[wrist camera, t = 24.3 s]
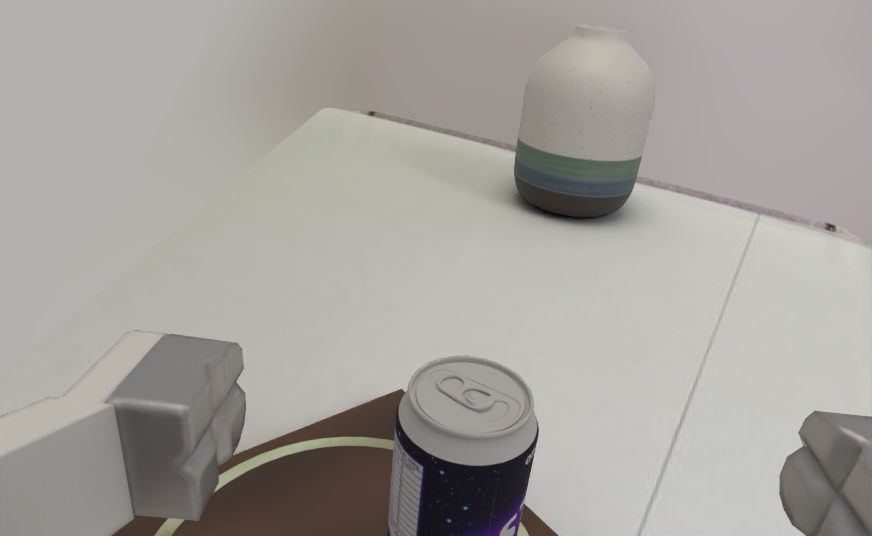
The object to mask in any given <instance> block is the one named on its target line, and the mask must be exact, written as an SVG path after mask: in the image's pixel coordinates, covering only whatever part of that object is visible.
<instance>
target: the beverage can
mask: <svg viewBox="0 0 872 536" xmlns="http://www.w3.org/2000/svg"><path fill="white" fill-rule="evenodd" d="M533 406H534V401H533V395H532V393H531V390H530V388H529V387H528V385H527V384H526V383H525V381H524V380H523V379H522V378H521V377H520V376H518V375H517V374H516V373H515V372H513V371H512V370H510V369H509V368H507V367H505V366H503V365H501V364H498V363H496V362H493V361H490V360H487V359H483V358H478V357H470V356H452V357H445V358H440V359H437V360H434V361H431V362H429V363H427V364H425V365H424V366H422V367H421V368H419V369H418V370H417V371H416V372H415V373H414V375H413V376H412V378H411V380H410V382H409V385H408V390H407V391H406V393H405V394H404V395H403V397H402V398H401V400H400V402H399V404H398V407H397V411H396V423H395V436H394V450H393V463H392V477H391V490H390V504H389V517H388V531H387V536H517V534H518V529H519V524H520V519H521V515H522V510H523V505H524V500H525V496H526V491H527V486H528V481H529V477H530V472H531V467H532V462H533V458H534V453H535V448H536V443H537V439H538V432H539V429H538V422H537V419H536V416H535V413H534V411H533Z"/></svg>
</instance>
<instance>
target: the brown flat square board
mask: <svg viewBox="0 0 872 536" xmlns="http://www.w3.org/2000/svg"><path fill="white" fill-rule="evenodd" d="M405 393H406V392H404V391H403V390H402V389H400V390H397V391H395V392H392V393H390V394H387V395H385V396H382V397H380V398H377V399H375V400H372V401H370V402H367V403H364V404H362V405H359V406H357V407H354V408H352V409H349V410H347V411H344V412H342V413H339V414H337V415H334V416H332V417H329V418H327V419H324V420H321V421H319V422H316V423H314V424H311V425H309V426H306V427H304V428H301V429H299V430H296V431H294V432H291V433H289V434H286V435H283V436H281V437H278V438H276V439H273V440H271V441H268V442H266V443H263V444H261V445H258V446H256V447H253V448H251V449H248V450H245V451H243V452H240V453H238V454H235V455H233V456H232V458H231V459H229V460H227V461H226V462H224V463H223V464H221V465H219V466H218V475H219V483H218V485H217V487H216V489H215V491H214V493H213V495H212V497H211V499H210V501H209V502H208V504H207V506H206V508H205V510H204V512H203V514H202V516H201V518H200V520H199V521H194V520H183V519H173V518H162V517H151V516H140V515H134V519H133V520H132V521H130V522H129V523H128V524H126V525H125V526H123V527H122V528H121V529H119V530H118V531H117V532H115V533H114V534H113V535H111V536H387V531H388V517H389V504H390V490H391V477H392V463H393V450H394V436H395V423H396V411H397V407H398V404H399V402H400V400H401V398H402V397H403V395H404V394H405ZM517 536H558V535H557V534H556V533H555V532H554V531H553V530H552V529H551V528H550V527H549V526H547V525H546V524H545V523H544V522H543V521H542V520H541V519H540V518H539V517H538V516H537V515H536V514H535V513H534V512H533V511H531V510H530V509H529V508H528V507H527V506H526V505H525V504H524V505H523V510H522V515H521V519H520V524H519V529H518V534H517Z"/></svg>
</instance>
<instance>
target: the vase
mask: <svg viewBox="0 0 872 536" xmlns="http://www.w3.org/2000/svg"><path fill="white" fill-rule="evenodd" d="M654 101H655V83H654V78H653V75H652V72H651V71H650V69H649V67H648V66H647V64H646V63H645V62H644V60H643V59H642V58H641V57H640V56H639V55H638V54H637V53H636V52H635V51H634V50H633V48H632V47H631V46H630V45H629V43H628V40H627V30H625V29H620V28H613V27H604V26H595V25H577V26H576V29H575V31H574V33H573V35H572V36H571V37H570V38H569V39H567V40H566V41H564V42H563V43H561V44H559V45H558V46H556V47H554V48H553V49H551V50H550V51H548V52H547V53H546V54H545V55H543V56H542V57H541V58H540V59H539V60H538V61H537V63H536V64H535V66H534V67H533V69H532V71H531V73H530V76H529V78H528V81H527V85H526V89H525V94H524V100H523V107H522V114H521V121H520V127H519V134H518V141H517V148H516V156H515V165H514V176H515V182H516V186H517V189H518V191H519V193H520V194H521V195H522V197H523V198H524V199H526V200H527V201H528V202H529V203H531V204H533V205H535V206H537V207H539V208H541V209H544V210H546V211H549V212H553V213H557V214H561V215H567V216H575V217H596V216H603V215H607V214H610V213H612V212H615V211H616V210H618V209H619V208H620V207H622V206H623V204H624V203H625V202H626V201H627V199H628V197H629V196H630V194H631V192H632V190H633V187H634V184H635V181H636V177H637V173H638V169H639V165H640V161H641V157H642V153H643V149H644V145H645V141H646V137H647V133H648V129H649V125H650V121H651V116H652V112H653V107H654Z"/></svg>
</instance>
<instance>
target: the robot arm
mask: <svg viewBox="0 0 872 536" xmlns="http://www.w3.org/2000/svg"><path fill="white" fill-rule="evenodd" d="M243 369H244V365H243V354H242V348H241V347H240V346H239V344H238V343H234V342H227V341H219V340H212V339H205V338H197V337H190V336H183V335H176V334H166V333H160V332H151V331H143V330H133V331H129V332H127V333H125V334H124V335H123V336H122V337H121V338H120V339H119V340H118V341H117V342H116V343H115V344H114V345H113V346H112V347H111V348H110V349H109V350H108V351H107V352H106V353H105V354H104V355H103V356H102V357H101V358H100V359H99V360H98V361H97V362H96V363H95V364H94V365H93V366H92V367H91V368H90V369H89V370H88V371H87V372H86V373H85V374H84V375H83V376H82V377H81V378H80V379H79V380H78V381H77V382H76V383H75V384H74V385H73V386H72V387H71V388H70V389H69V390H68V391H67V392H66V393H65V394H64V395H63V396H62V397H61V398H55V397H47V398H45V399H42V400H40V401H37V402H35V403H32V404H30V405H27V406H25V407H22V408H20V409H17V410H15V411H12V412H10V413H7V414H5V415H2V416H0V536H111V535H113V534H114V533H115V532H117V531H118V530H119V529H121V528H122V527H123V526H125V525H126V524H128V523H129V522H130V521H132V520H133V519H134V515H140V516H151V517H162V518H173V519H183V520H194V521H199V520H200V518H201V516H202V514H203V512H204V510H205V508H206V506H207V504H208V502H209V501H210V499H211V497H212V495H213V493H214V491H215V489H216V487H217V485H218V483H219V475H218V466H219V465H221V464H223V463H224V462H226V461H227V460H229V459H231V458H232V456H233V454H234V452H235V450H236V448H237V446H238V444H239V440H240V437H241V433H242V430H243V426H244V421H245V411H246V399H245V392H244V391H243V390H242V389H241V388H240V386H239V385H238V384H237V383H236V381H237V379H238V377H239V376H240V374H241V372H242V371H243ZM799 436H800V438H801V441H802V443H803V447H801V448H800V449H798V450H797V451H795V452H794V453H792V454H791V455H789V456H788V457H787V458H786V461H785V463H784V466H783V468H782V471H781V473H780V498H781V501H782V505H783V508H784V511H785V512H786V514H787V516H788V518H789V520H790V522H791V523H792V525H793V526H795V527H796V528H797V529H798V530H800V531H801V532H802V533H803V534H805V535H806V536H872V417H868V416H859V415H849V414H840V413H830V412H821V411H814V412H813V413H812V414H810V415H809V416H808V417H807V418H806V419H805V420H804V423H803V425H802V427H801V429H800V431H799Z"/></svg>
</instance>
